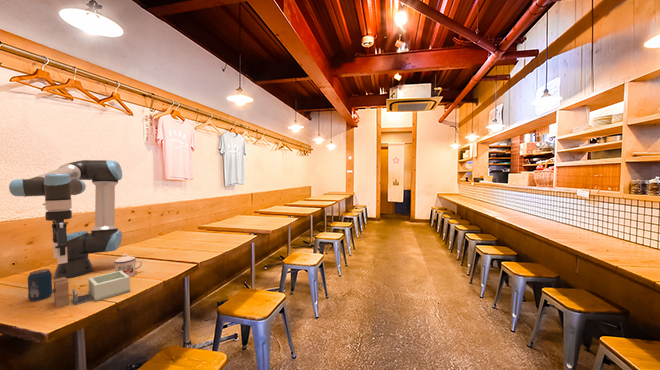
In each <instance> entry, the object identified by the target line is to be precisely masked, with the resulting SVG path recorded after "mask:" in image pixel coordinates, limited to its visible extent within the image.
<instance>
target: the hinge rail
mask: <svg viewBox="0 0 660 370" xmlns="http://www.w3.org/2000/svg"><path fill="white" fill-rule="evenodd" d="M71 292H72V301H73V303H74V305H77V306H78V305H80V304H83V303H87V302H91V301H94V298H93V297H92V295H91V294H89V293H88V294H83V295H80V296H79V295H78V291H77V289H75V288H73V289H72V291H71Z"/></svg>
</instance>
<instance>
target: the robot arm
mask: <svg viewBox="0 0 660 370" xmlns="http://www.w3.org/2000/svg"><path fill="white" fill-rule="evenodd" d="M122 179H123V170H122V166H121V165H120V163H119V162H118V161H117V160H108V159H107V160H105V159H103V160H102V159H101V160H99V159H93V160H90V159H84V160H83V159H82V160H77V161H73V162H69V163H65V164H62V165H60V166H59V167H58V168H56V169H54V170H52V171H48V172H45V173H43V174H39V175H37V176H34V177H31V178H19V179H17V178H16V179H13V180H12V181H10V183H9V185H8V189H9V194H11V195H12V196H15V197H25V198H26V197H44V201H45V203H42V206H44V207H45V221H48V222H50V221H51V222H52V224H51V228H52V245H53V259H57V267H56V268H55V272H54V275H53V276H54V279H56V278H61V277H66V279H69V278H76V277H79V276H83V275H86V274H89V273H92V272H93V271H94V269H93V268H94V266H93V264H92V262H91V260H90V258H89V255H90V254H98V253H108V252H115V251H117V250H118V249H119V248H120V246H121V243H122V240H123V233H122V231H121V230H119V228H118V226H116V224H115V223H116V222H115V220H116V219H115V218H116V217H115V216H116V213H115V212H116V211H115V209H116V208H115V207H116V206H115V205H116V186H117V184H119V181H121V180H122ZM84 181H91V183H92V185H94V186H95V198H94V200H95V205H94V207H95V210H94V227H93V228H92V229H91V231H90V233H89V231H88V230H79V231H74V232H70V233H67V225H68V224H67V223H66V222H65V220H70V219H72V218H73V216H72V213H73V211H72V207H73V206H72V205H73V204H72V196H77V195H80V194H82V193H84V192H85V190H86V189H87V188H86V183H85V182H84Z"/></svg>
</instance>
